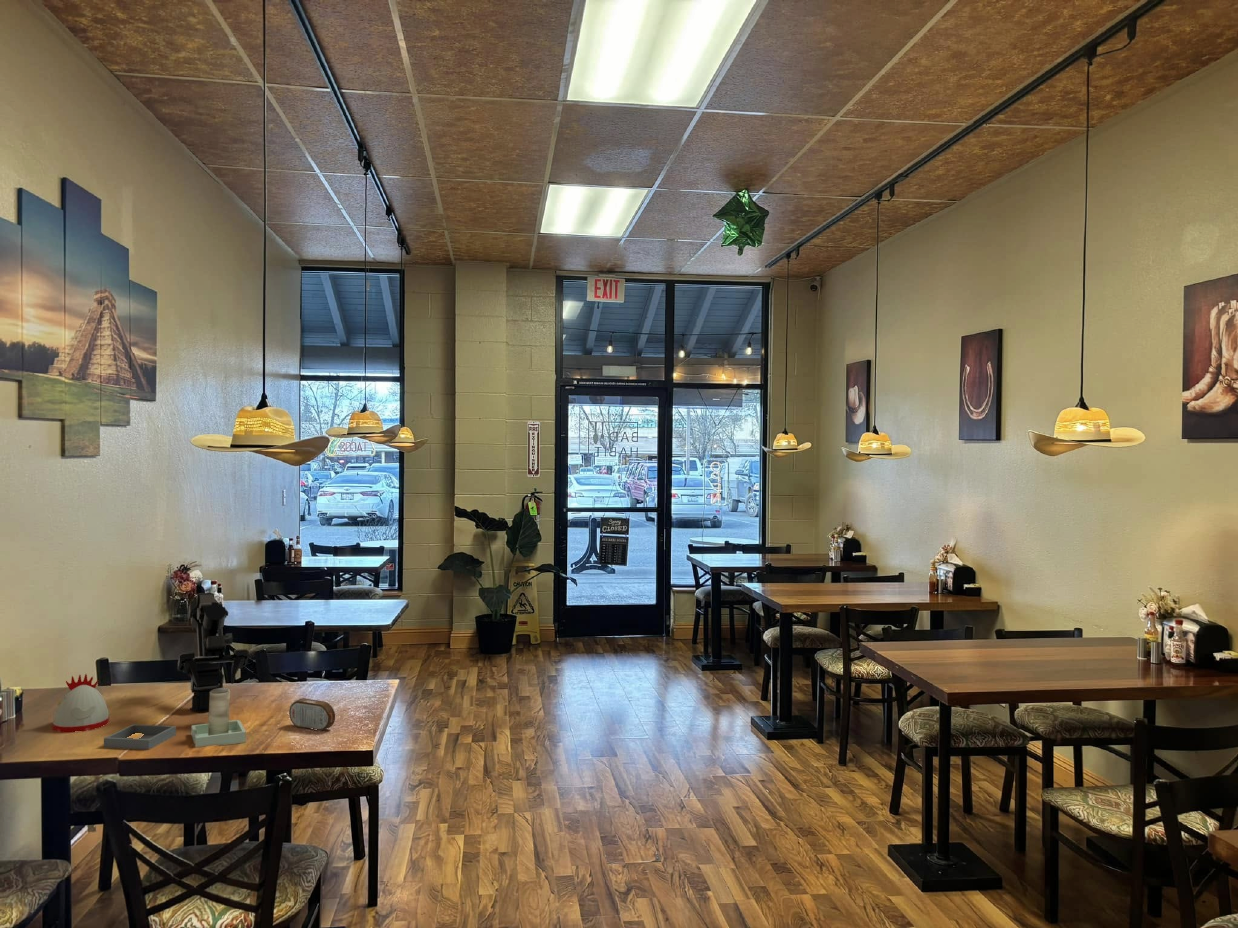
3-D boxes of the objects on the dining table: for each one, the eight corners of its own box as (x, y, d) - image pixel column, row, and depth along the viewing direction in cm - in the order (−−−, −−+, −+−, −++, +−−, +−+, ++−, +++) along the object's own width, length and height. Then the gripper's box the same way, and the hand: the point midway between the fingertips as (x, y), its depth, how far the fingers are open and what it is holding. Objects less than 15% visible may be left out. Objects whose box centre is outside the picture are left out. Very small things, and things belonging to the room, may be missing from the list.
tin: (335, 730, 248) (336, 701, 248) (328, 733, 245) (329, 704, 245) (294, 723, 253) (295, 695, 253) (286, 726, 250) (287, 698, 250)
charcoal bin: (132, 734, 238) (133, 724, 238) (175, 736, 237) (176, 726, 237) (103, 749, 225) (103, 737, 225) (148, 751, 225) (149, 740, 225)
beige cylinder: (212, 734, 239) (214, 687, 239) (231, 734, 239) (232, 687, 239) (204, 740, 234) (206, 692, 234) (224, 740, 234) (225, 692, 234)
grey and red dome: (51, 722, 246) (53, 672, 247) (105, 715, 255) (107, 666, 255) (54, 735, 235) (56, 682, 236) (111, 727, 244) (113, 676, 244)
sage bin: (191, 735, 238) (191, 725, 238) (239, 729, 245) (239, 719, 245) (195, 748, 228) (196, 737, 228) (245, 742, 234) (246, 731, 234)
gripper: (180, 625, 243) (182, 672, 234) (250, 622, 253) (254, 666, 244) (176, 647, 250) (178, 693, 240) (244, 643, 260) (248, 687, 250)
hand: (215, 684), depth 243 cm, fingers open, 9 cm apart
